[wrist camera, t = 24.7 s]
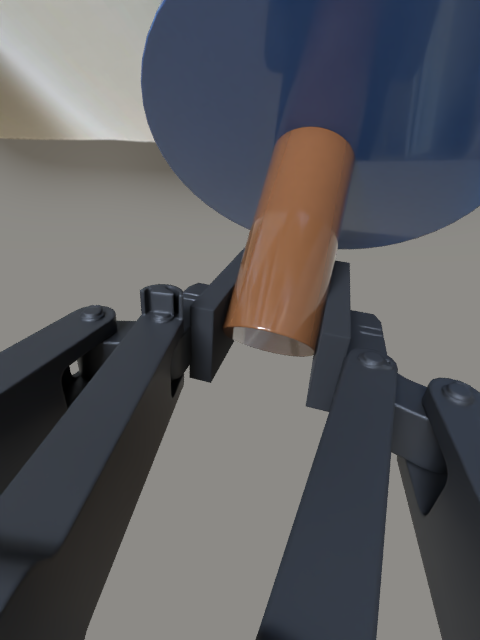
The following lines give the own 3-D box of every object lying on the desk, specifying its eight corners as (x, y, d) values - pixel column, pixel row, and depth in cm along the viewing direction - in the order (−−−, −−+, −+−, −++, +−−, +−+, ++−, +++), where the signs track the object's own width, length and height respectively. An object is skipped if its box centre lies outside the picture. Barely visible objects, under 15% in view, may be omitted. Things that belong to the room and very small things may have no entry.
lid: (92, 85, 14) (2, 273, 12) (499, -479, 4) (406, 28, 2) (285, 247, 23) (254, 373, 21) (566, 189, 13) (562, 419, 11)
